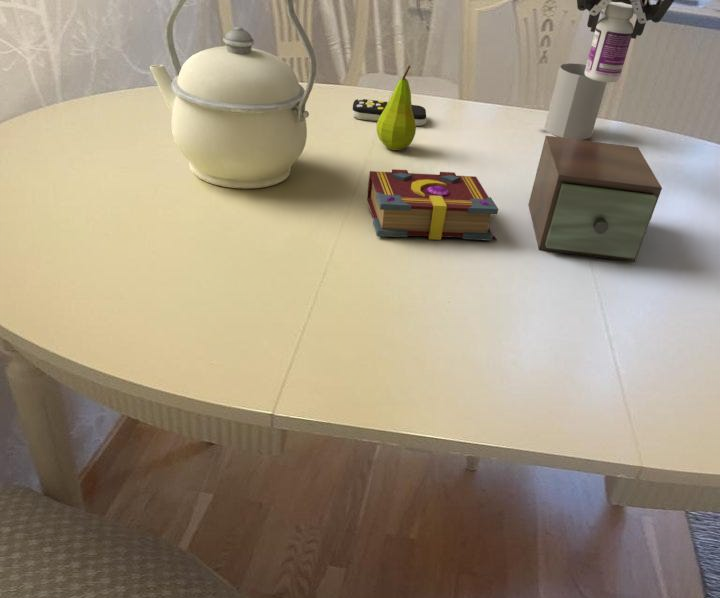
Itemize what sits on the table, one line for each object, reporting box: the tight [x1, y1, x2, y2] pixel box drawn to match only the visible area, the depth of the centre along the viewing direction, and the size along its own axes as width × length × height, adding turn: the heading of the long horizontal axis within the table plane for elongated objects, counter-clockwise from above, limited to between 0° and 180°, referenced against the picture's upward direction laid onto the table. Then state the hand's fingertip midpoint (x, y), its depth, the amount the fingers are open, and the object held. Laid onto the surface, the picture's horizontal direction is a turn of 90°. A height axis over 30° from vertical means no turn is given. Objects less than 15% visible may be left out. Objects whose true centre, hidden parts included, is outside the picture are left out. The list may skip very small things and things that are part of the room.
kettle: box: [149, 0, 318, 190], centre depth 99 cm, size 25×18×25 cm
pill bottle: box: [585, 2, 634, 83], centre depth 111 cm, size 5×5×10 cm
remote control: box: [351, 97, 427, 127], centre depth 131 cm, size 6×13×2 cm, turn 88°
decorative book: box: [366, 169, 499, 241], centre depth 99 cm, size 11×16×5 cm
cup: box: [544, 62, 608, 140], centre depth 132 cm, size 8×8×10 cm
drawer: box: [545, 182, 657, 259], centre depth 98 cm, size 15×11×8 cm
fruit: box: [376, 65, 417, 151], centre depth 116 cm, size 6×6×12 cm
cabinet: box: [528, 135, 663, 263], centre depth 99 cm, size 15×13×10 cm
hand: (614, 29), depth 112 cm, fingers closed on pill bottle, 5 cm apart
